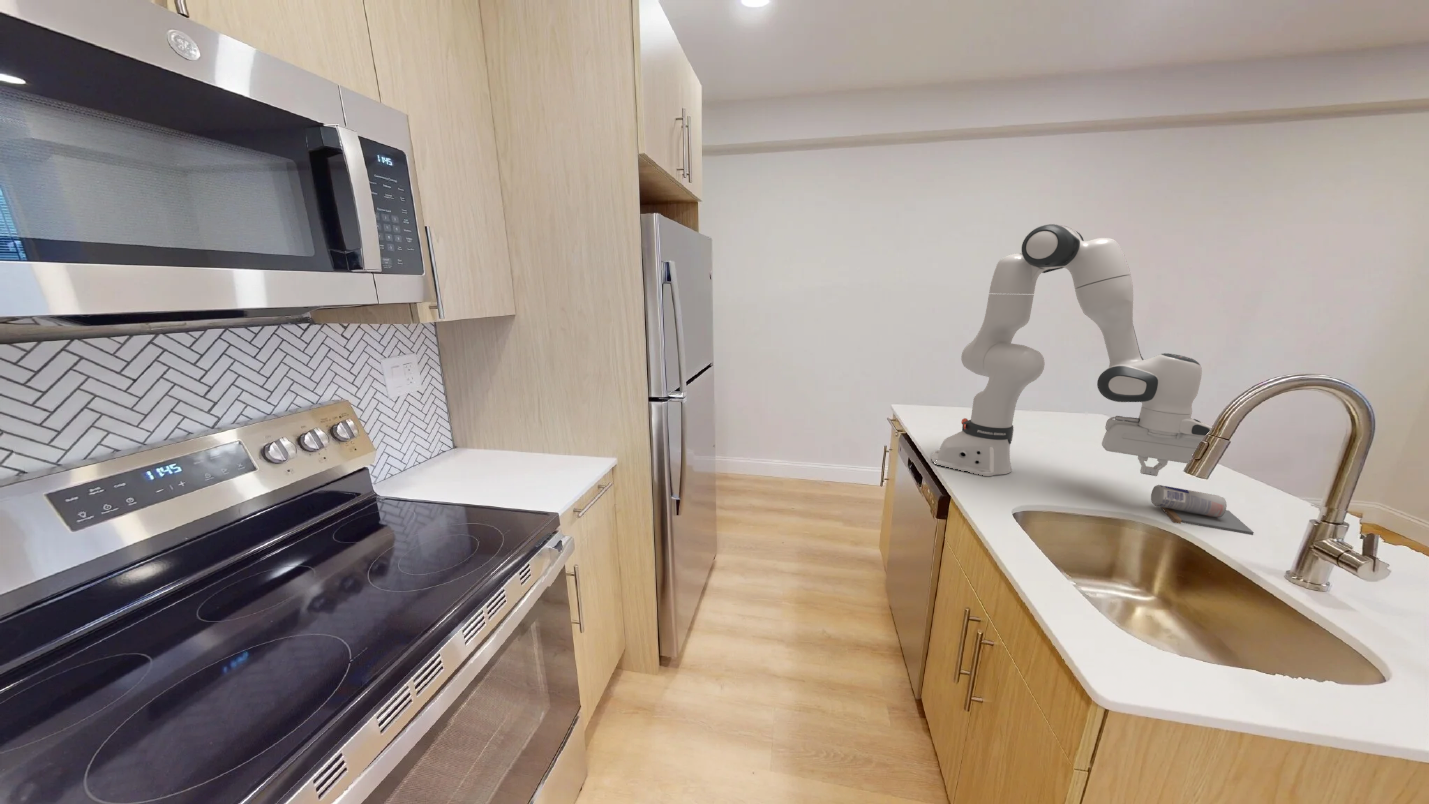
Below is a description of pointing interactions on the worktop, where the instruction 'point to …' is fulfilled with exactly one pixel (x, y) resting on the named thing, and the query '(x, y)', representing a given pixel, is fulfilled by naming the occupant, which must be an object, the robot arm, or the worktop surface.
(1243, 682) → the worktop surface
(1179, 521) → the brown thin bar
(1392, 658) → the worktop surface
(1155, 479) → the worktop surface
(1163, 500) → the energy drink
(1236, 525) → the mat
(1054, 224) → the robot arm
